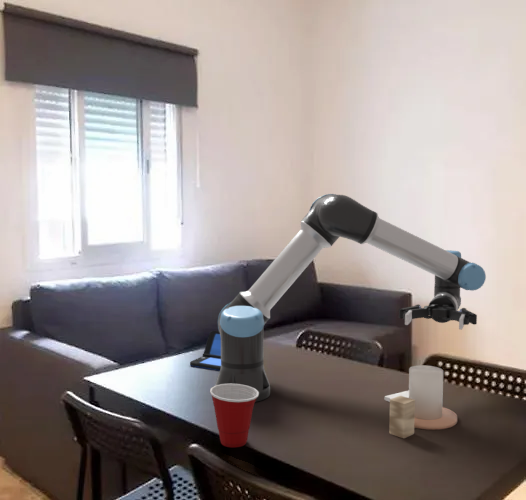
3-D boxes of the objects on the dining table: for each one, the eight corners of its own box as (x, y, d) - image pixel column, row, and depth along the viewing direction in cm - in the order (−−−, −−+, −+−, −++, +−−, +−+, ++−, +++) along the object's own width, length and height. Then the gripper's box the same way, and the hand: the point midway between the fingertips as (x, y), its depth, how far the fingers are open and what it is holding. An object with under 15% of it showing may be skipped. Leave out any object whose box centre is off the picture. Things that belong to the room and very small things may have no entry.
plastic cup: (253, 454, 131) (253, 399, 130) (204, 450, 134) (203, 396, 132) (263, 435, 142) (263, 383, 141) (217, 431, 144) (217, 380, 143)
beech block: (389, 433, 143) (389, 399, 142) (399, 428, 145) (400, 395, 145) (403, 438, 140) (404, 403, 139) (414, 433, 142) (414, 399, 142)
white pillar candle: (401, 410, 154) (402, 367, 153) (428, 406, 157) (429, 363, 156) (421, 421, 147) (422, 376, 146) (449, 417, 150) (450, 372, 149)
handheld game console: (188, 366, 198) (187, 338, 197) (210, 356, 210) (210, 329, 209) (230, 373, 191) (230, 343, 190) (251, 362, 203) (251, 334, 202)
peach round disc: (381, 412, 156) (382, 408, 156) (431, 404, 162) (431, 400, 162) (418, 433, 143) (418, 429, 142) (470, 424, 148) (470, 419, 148)
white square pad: (384, 399, 165) (384, 396, 165) (411, 393, 171) (411, 389, 171) (412, 411, 157) (412, 407, 157) (439, 403, 162) (439, 399, 162)
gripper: (488, 324, 175) (483, 340, 156) (399, 317, 185) (384, 332, 165) (489, 297, 174) (484, 311, 155) (399, 292, 184) (385, 304, 165)
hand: (433, 322), depth 160 cm, fingers open, 13 cm apart
